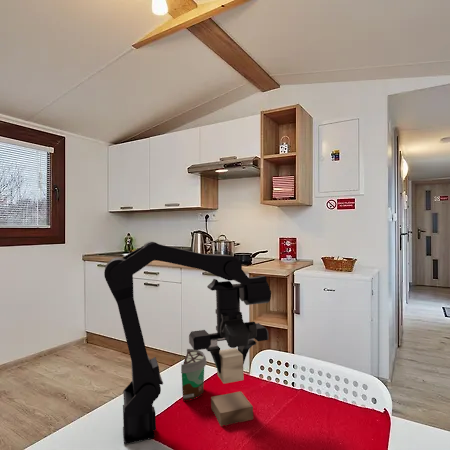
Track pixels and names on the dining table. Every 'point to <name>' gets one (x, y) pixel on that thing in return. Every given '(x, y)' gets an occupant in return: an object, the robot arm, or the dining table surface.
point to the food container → (193, 374)
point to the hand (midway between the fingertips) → (230, 371)
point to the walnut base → (231, 408)
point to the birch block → (231, 366)
